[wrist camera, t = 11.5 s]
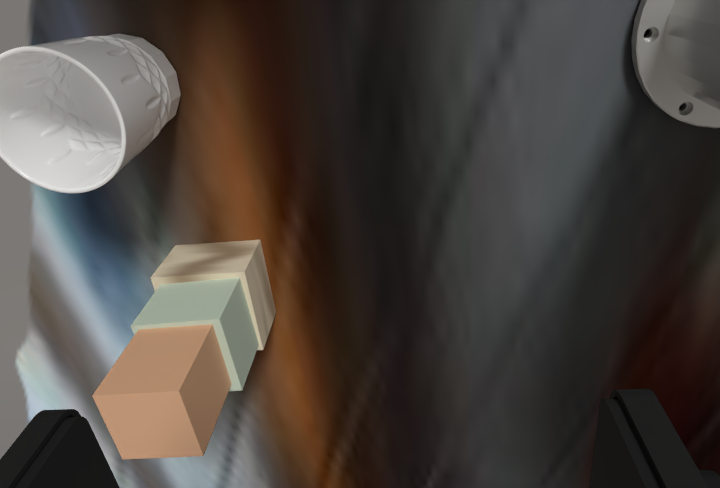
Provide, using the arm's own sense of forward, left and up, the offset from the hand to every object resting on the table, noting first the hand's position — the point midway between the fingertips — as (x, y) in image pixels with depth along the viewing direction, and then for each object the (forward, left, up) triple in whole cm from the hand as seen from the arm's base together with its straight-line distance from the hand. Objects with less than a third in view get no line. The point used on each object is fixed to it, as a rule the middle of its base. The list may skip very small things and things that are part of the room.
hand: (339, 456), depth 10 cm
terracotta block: (+14, +14, -20) cm, 28 cm away
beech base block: (+14, +14, -30) cm, 36 cm away
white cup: (+17, -2, -31) cm, 35 cm away
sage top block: (+14, +14, -25) cm, 32 cm away
